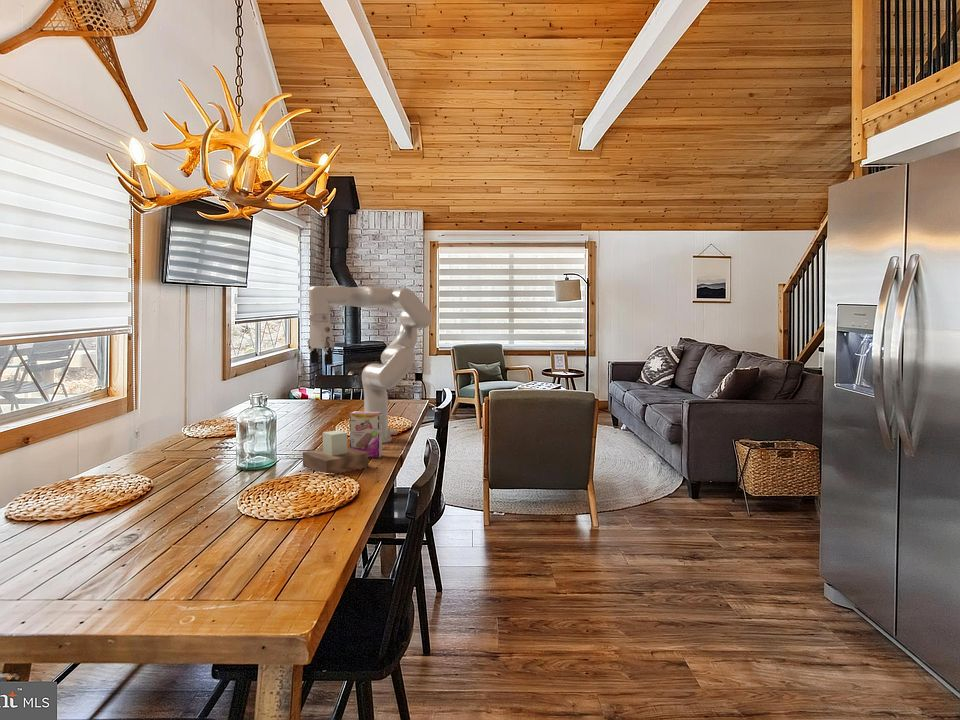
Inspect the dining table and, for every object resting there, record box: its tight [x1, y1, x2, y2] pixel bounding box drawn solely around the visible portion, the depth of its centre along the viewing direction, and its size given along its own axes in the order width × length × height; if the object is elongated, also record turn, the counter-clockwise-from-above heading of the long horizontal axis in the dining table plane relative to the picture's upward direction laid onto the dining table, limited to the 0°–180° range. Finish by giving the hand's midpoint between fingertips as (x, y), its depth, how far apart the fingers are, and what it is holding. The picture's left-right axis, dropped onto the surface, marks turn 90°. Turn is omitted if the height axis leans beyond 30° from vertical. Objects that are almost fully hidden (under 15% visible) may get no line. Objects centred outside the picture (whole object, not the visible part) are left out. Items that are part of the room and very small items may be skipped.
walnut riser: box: [302, 446, 369, 475], centre depth 216 cm, size 16×16×5 cm
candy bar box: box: [349, 410, 383, 459], centre depth 231 cm, size 11×5×16 cm, turn 84°
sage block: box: [322, 429, 348, 456], centre depth 215 cm, size 6×6×7 cm
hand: (321, 363), depth 240 cm, fingers open, 9 cm apart
